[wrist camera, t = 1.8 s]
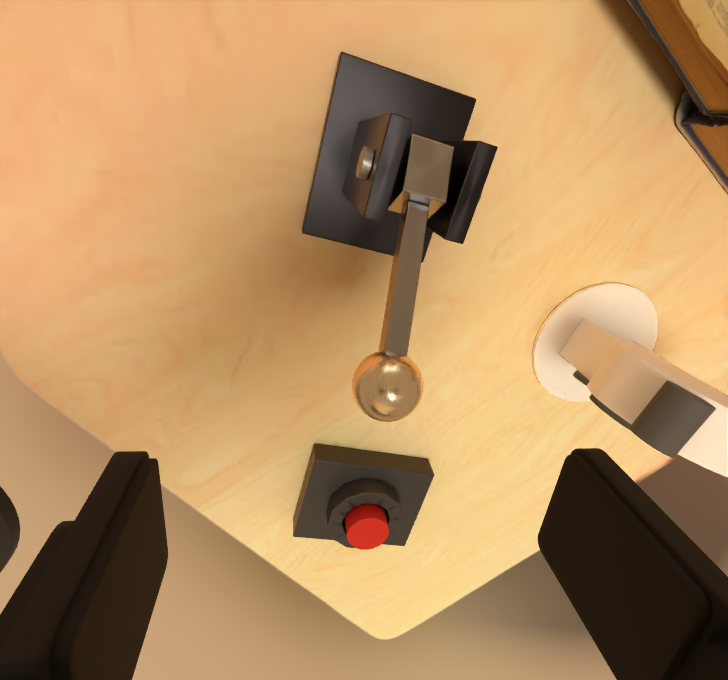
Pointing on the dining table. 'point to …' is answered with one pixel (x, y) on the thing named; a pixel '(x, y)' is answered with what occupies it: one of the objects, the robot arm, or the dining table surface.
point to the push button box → (360, 491)
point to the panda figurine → (630, 374)
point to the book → (696, 70)
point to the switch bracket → (389, 156)
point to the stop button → (366, 526)
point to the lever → (404, 283)
